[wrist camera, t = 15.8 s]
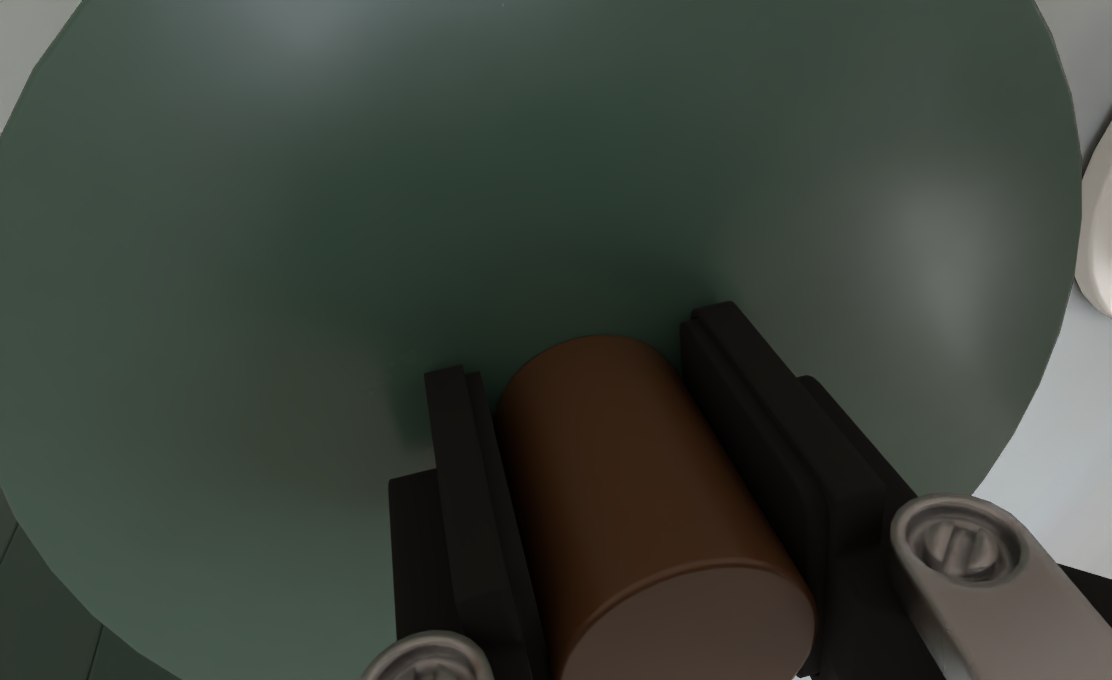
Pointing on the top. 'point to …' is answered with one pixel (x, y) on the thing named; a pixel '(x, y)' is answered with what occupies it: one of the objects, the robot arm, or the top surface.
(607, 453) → the lid
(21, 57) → the top surface
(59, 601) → the tin
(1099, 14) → the top surface
